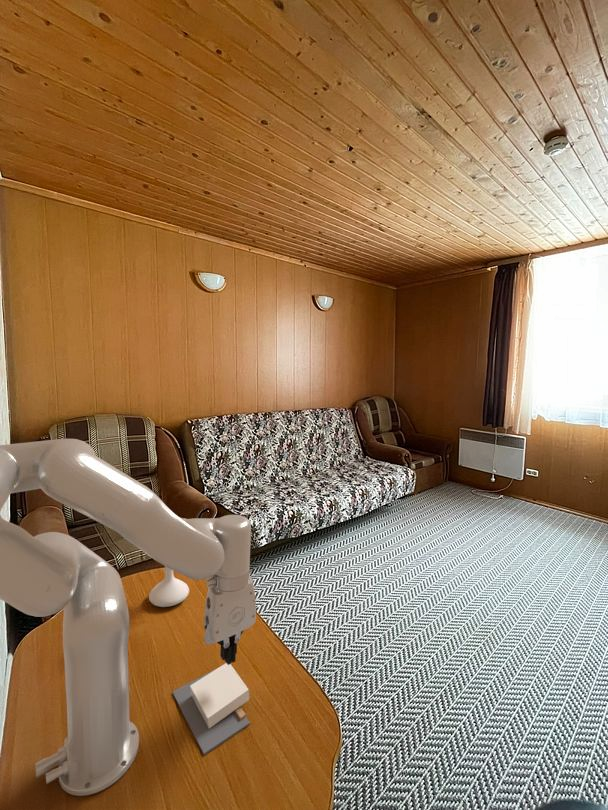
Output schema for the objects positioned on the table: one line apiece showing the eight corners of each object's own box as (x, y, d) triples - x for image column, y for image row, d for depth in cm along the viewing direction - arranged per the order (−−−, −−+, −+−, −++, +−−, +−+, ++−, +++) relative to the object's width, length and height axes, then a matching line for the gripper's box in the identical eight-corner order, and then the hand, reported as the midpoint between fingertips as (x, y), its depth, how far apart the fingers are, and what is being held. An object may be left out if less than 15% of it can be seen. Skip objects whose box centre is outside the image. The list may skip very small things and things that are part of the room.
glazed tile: (249, 700, 77) (209, 729, 71) (229, 671, 84) (191, 696, 78) (248, 689, 76) (207, 718, 71) (228, 661, 83) (189, 685, 78)
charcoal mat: (204, 755, 67) (204, 750, 67) (172, 693, 79) (172, 689, 79) (249, 724, 73) (250, 719, 73) (214, 671, 85) (214, 667, 85)
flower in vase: (145, 613, 104) (144, 528, 101) (151, 589, 115) (151, 512, 112) (194, 607, 107) (194, 525, 105) (195, 584, 118) (195, 509, 116)
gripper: (204, 599, 69) (202, 689, 70) (271, 573, 78) (267, 654, 80) (188, 579, 74) (186, 664, 76) (252, 558, 84) (249, 634, 86)
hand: (228, 659), depth 78 cm, fingers closed
